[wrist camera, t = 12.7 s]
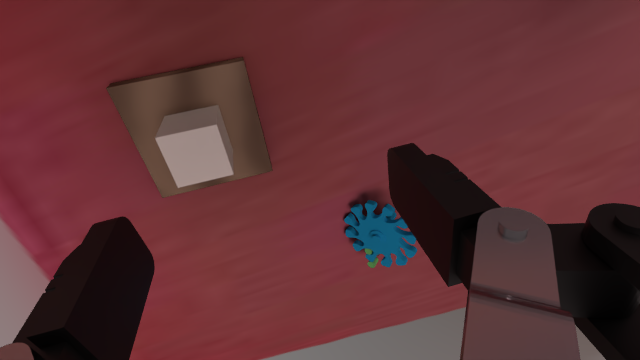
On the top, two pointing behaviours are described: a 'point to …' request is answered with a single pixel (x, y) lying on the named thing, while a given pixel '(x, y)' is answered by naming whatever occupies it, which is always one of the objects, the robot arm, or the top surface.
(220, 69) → the board
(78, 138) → the top surface
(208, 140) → the pale grey cube block
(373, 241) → the blue piece
